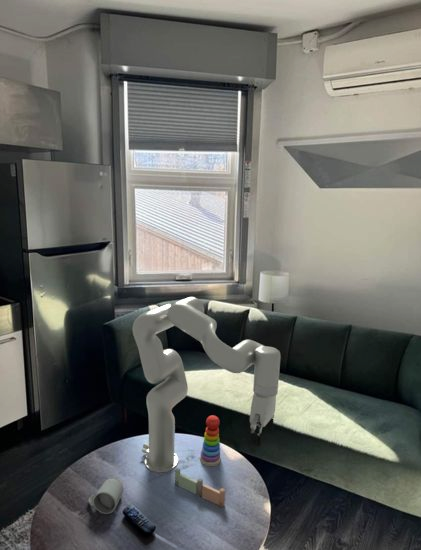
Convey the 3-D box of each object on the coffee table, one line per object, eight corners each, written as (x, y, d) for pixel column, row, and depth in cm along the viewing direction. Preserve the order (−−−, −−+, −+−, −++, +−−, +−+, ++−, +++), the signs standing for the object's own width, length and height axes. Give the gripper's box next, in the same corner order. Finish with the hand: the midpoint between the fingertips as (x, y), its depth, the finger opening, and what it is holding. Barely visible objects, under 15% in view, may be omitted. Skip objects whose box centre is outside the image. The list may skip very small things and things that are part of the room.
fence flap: (196, 495, 135) (196, 480, 134) (198, 491, 137) (199, 477, 136) (222, 508, 130) (223, 493, 129) (225, 504, 132) (226, 489, 131)
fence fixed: (173, 484, 140) (174, 470, 139) (176, 481, 141) (176, 467, 140) (195, 494, 135) (195, 480, 134) (198, 491, 137) (198, 477, 136)
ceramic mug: (124, 496, 135) (124, 476, 133) (116, 515, 127) (115, 494, 125) (94, 492, 136) (93, 473, 134) (84, 511, 128) (83, 490, 126)
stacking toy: (218, 469, 149) (220, 424, 145) (197, 465, 151) (199, 421, 146) (222, 455, 157) (224, 412, 152) (202, 452, 158) (204, 409, 154)
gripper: (265, 373, 132) (261, 419, 136) (242, 395, 117) (239, 446, 121) (286, 379, 128) (282, 426, 132) (266, 403, 114) (262, 455, 117)
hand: (261, 436), depth 127 cm, fingers open, 9 cm apart
